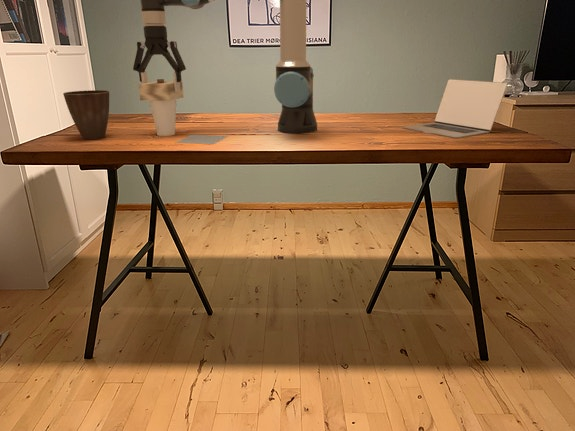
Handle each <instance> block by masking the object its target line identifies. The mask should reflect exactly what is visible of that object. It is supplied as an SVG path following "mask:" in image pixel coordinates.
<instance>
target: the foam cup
mask: <svg viewBox="0 0 575 431" xmlns="http://www.w3.org/2000/svg"><path fill="white" fill-rule="evenodd" d="M148 102H149V107H150V110H151V114H152V118H153V123H154V126H155V127H154V128H155V131H156V134H157V136H158V137H171V136H175V134H176V118H177V117H176V116H177V99H175V100H171V101H148Z"/></svg>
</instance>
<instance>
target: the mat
mask: <svg viewBox="0 0 575 431" xmlns="http://www.w3.org/2000/svg"><path fill="white" fill-rule="evenodd" d="M228 137H229V136H228V135H214V134H213V135H211V134H210V135H209V134H192V135H191V134H190V135H188V136H186V137H184V138H182V139H179V140H177V141H174V143H178V144H199V145H200V144H204V145H214V144H216V143H218V142H221V141H223V140H225V139H226V138H228Z"/></svg>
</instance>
